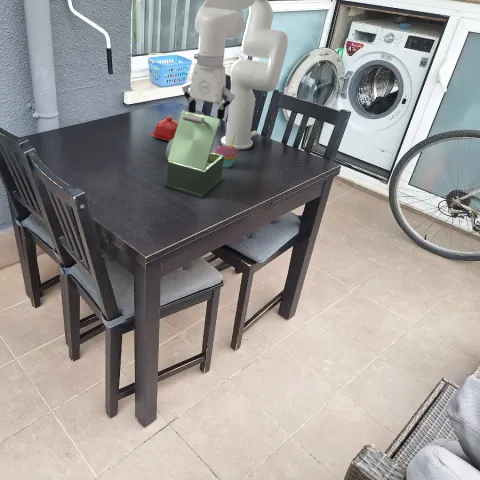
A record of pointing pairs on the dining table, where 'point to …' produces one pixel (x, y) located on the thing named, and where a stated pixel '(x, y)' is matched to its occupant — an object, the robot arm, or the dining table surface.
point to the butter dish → (166, 129)
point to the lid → (193, 140)
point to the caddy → (195, 176)
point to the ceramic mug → (169, 148)
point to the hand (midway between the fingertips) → (205, 117)
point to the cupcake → (228, 153)
